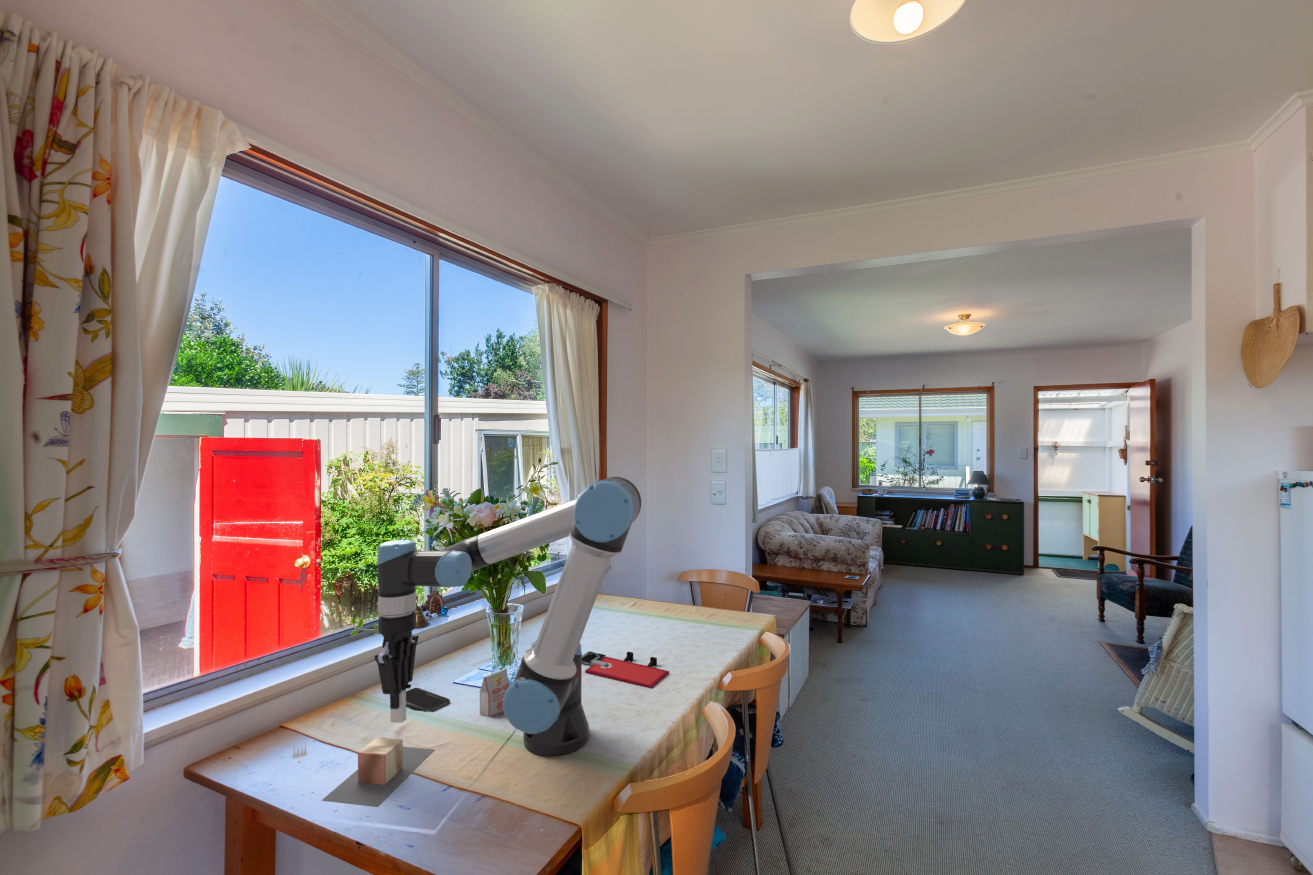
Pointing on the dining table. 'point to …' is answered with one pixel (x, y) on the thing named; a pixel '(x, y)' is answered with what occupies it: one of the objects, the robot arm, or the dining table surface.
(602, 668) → the red board with handle
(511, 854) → the dining table surface
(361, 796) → the mat
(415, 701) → the phone
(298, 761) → the fork
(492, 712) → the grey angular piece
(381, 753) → the cube
